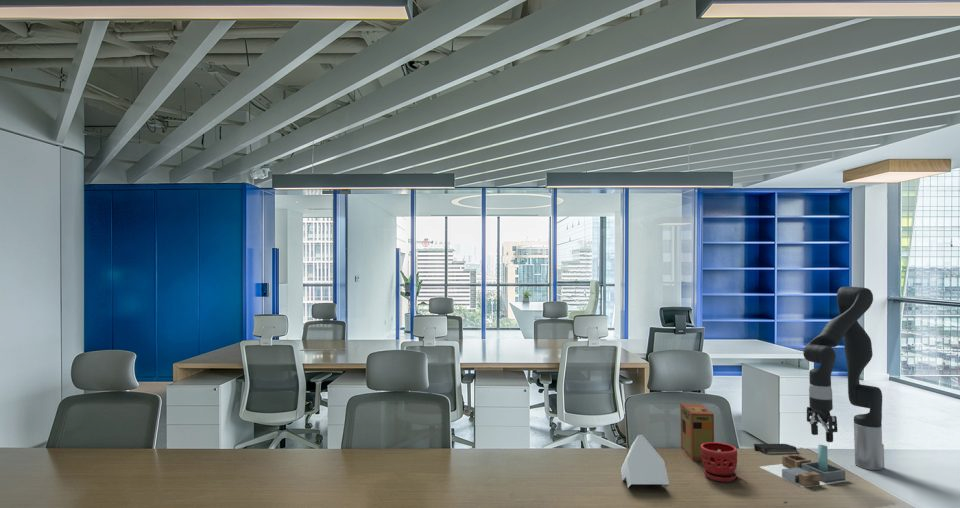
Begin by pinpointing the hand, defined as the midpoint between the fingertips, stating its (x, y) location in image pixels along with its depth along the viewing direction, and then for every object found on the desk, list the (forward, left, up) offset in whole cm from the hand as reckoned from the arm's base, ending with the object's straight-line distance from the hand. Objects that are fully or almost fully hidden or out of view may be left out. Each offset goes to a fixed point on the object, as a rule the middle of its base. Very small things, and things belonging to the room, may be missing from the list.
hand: (822, 438), depth 197 cm
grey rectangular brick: (+12, 0, -15) cm, 19 cm away
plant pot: (+38, -12, -16) cm, 43 cm away
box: (+29, -36, -16) cm, 49 cm away
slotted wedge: (+70, -16, -16) cm, 73 cm away
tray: (0, 0, -15) cm, 15 cm away
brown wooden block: (+12, +5, -15) cm, 20 cm away
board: (+6, -4, -16) cm, 17 cm away
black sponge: (-6, -28, -16) cm, 33 cm away
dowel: (0, 0, -14) cm, 14 cm away
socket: (+3, -9, -15) cm, 18 cm away
